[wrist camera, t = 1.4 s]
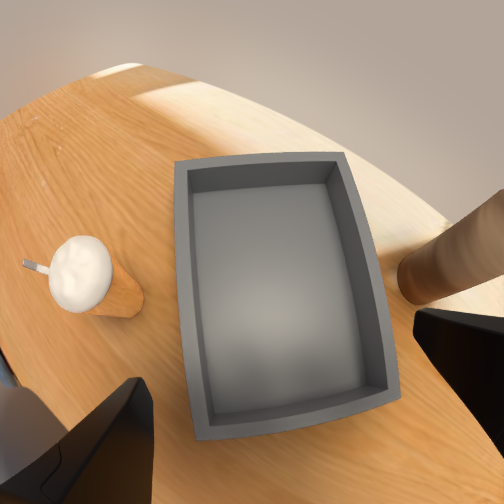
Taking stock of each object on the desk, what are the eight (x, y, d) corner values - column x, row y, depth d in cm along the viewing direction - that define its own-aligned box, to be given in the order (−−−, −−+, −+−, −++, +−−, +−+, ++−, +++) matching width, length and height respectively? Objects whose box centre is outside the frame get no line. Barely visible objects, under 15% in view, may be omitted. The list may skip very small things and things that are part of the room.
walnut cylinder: (425, 315, 22) (532, 278, 10) (389, 285, 23) (493, 227, 11) (441, 274, 23) (535, 222, 11) (408, 244, 24) (497, 175, 12)
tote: (373, 391, 20) (401, 398, 15) (203, 423, 18) (196, 441, 14) (329, 180, 26) (343, 152, 22) (183, 191, 25) (174, 161, 20)
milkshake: (98, 271, 22) (31, 224, 12) (153, 273, 22) (102, 220, 13) (93, 323, 20) (17, 301, 11) (150, 328, 20) (90, 310, 11)
